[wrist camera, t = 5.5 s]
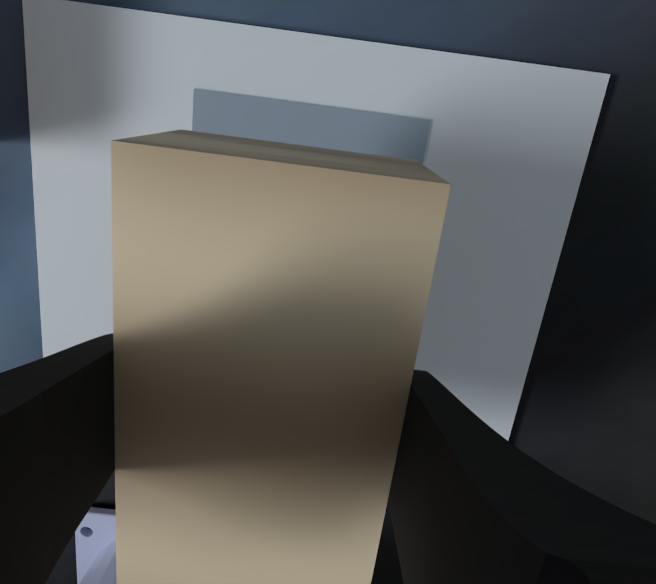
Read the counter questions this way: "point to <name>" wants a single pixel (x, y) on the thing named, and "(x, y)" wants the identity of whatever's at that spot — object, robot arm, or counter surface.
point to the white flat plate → (325, 132)
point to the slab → (262, 353)
